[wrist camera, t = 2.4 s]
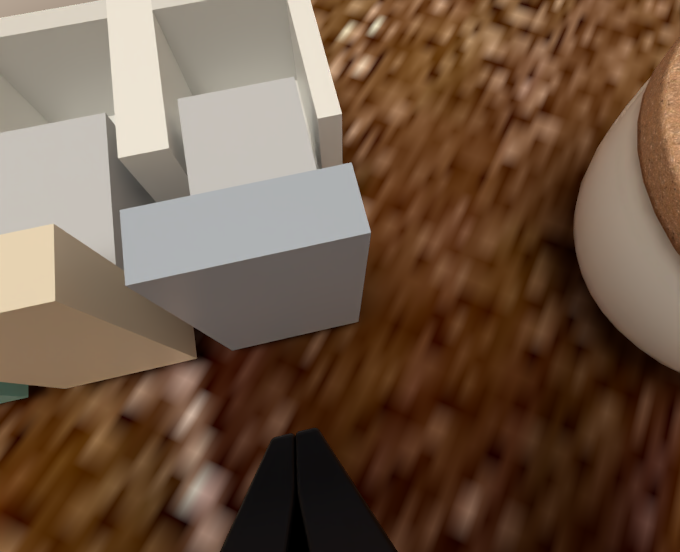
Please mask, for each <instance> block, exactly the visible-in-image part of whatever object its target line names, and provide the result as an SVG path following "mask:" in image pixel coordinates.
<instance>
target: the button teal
mask: <svg viewBox="0 0 680 552" xmlns="http://www.w3.org/2000/svg"><path fill="white" fill-rule="evenodd" d="M27 397H28V385H25V384H16V383H6V382H0V404H1V403H5V402H10V401H14V400H18V399H23V398H27Z"/></svg>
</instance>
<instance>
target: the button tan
mask: <svg viewBox="0 0 680 552" xmlns="http://www.w3.org/2000/svg"><path fill="white" fill-rule="evenodd" d="M152 203H157V202H156V201H155V200H154V199H153V198H152V197H151V196H150V194H149V193H148V192H147V191H146V190H145V189H144V188H143V186H142V185H141V184H140V183H139V182H138V181H137V179H136V178H135V177H134V176H133V175H132V174H131V173H130V171H129V170H128V169H127V168H126V167H125V166H124V165H123V163H122V162H121V161H120V160H119V159H118V152H117V139H116V126H115V124H114V123H113V122H112V120H111V119H110V118H109V117H108V115H107V114H106V113H101V114H96V115H90V116H85V117H80V118H75V119H69V120H64V121H59V122H54V123H49V124H43V125H38V126H33V127H28V128H22V129H17V130H12V131H7V132H2V133H0V382H6V383H16V384H25V385H35V386H44V387H53V388H63V389H66V388H71V387H75V386H79V385H84V384H88V383H93V382H97V381H101V380H106V379H110V378H114V377H119V376H123V375H128V374H132V373H136V372H141V371H145V370H149V369H154V368H158V367H163V366H167V365H171V364H176V363H180V362H184V361H189V360H193V359H197V353H196V344H195V336H194V328H193V326H191V325H189V324H188V323H186V322H184V321H183V320H181V319H179V318H178V317H176V316H174V315H173V314H171V313H170V312H168V311H166V310H165V309H163V308H161V307H160V306H158V305H156V304H155V303H153V302H151V301H150V300H148V299H146V298H145V297H143V296H141V295H140V294H138V293H136V292H135V291H133V290H131V289H130V288H128V287H127V286H125V275H124V262H123V248H122V235H121V222H120V210H122V209H127V208H132V207H137V206H142V205H147V204H152Z"/></svg>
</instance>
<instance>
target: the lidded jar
mask: <svg viewBox="0 0 680 552" xmlns="http://www.w3.org/2000/svg"><path fill="white" fill-rule="evenodd" d="M573 234H574V242H575V250H576V256H577V260H578V263H579V267H580V270H581V274H582V277H583V279H584V281H585V283H586V285H587V288H588V290H589V292H590V294H591V296H592V297H593V299H594V300H595V302H596V303H597V305H598V306H599V308H600V310H601V311H602V313H603V314H604V315H605V316H606V317H607V318H608V319H609V321H610V322H611V323H612V324H613V325H614V326H615V328H616V329H617V330H618V331H620V332H621V333H622V334H623V335H624V336H625V337H626V338H627V339H628V340H630V341H631V342H632V343H633V344H634V345H635V346H637V347H638V348H639V349H641V350H642V351H643V352H645V353H646V354H648V355H649V356H651V357H652V358H654V359H655V360H657V361H658V362H659V363H661V364H663V365H665V366H667V367H669V368H670V369H672V370H674V371H676V372H678V373H680V38H679V39H678V40H677V41H676V42H675V44H674V45H673V46H672V47H671V49H670V50H669V51H668V53H667V54H666V55H665V57H664V58H663V59H662V61H661V62H660V64H659V65H658V66H657V68H656V69H655V70H654V72H653V74H652V76H651V78H650V79H649V80H648V81H647V82H646V83H645V84H644V85H643V86H642V88H641V89H640V90H639V91H638V93H637V94H636V95H635V96H634V97H633V99H632V100H631V101H630V102H629V104H628V105H627V106H626V107H625V109H624V110H623V111H622V113H621V114H620V115H619V117H618V118H617V119H616V121H615V122H614V124H613V125H612V126H611V128H610V129H609V131H608V132H607V134H606V135H605V137H604V139H603V140H602V142H601V143H600V145H599V146H598V148H597V150H596V152H595V154H594V156H593V158H592V161H591V163H590V165H589V167H588V169H587V171H586V173H585V175H584V178H583V180H582V182H581V186H580V190H579V194H578V198H577V203H576V208H575V213H574V229H573Z"/></svg>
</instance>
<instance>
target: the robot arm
mask: <svg viewBox="0 0 680 552" xmlns="http://www.w3.org/2000/svg"><path fill="white" fill-rule="evenodd" d="M220 552H397V550H396V548H395V547H394V545H393V544H392V542H391V541H390V539H389V538H388V536H387V534H386V533H385V531H384V530H383V528H382V527H381V525H380V524H379V522H378V520H377V519H376V517H375V516H374V514H373V513H372V511H371V510H370V508H369V507H368V505H367V503H366V502H365V500H364V499H363V497H362V496H361V494H360V493H359V491H358V489H357V488H356V486H355V485H354V483H353V482H352V480H351V479H350V477H349V475H348V474H347V472H346V471H345V469H344V468H343V466H342V465H341V463H340V461H339V460H338V458H337V457H336V455H335V454H334V452H333V451H332V449H331V447H330V446H329V444H328V443H327V441H326V440H325V438H324V437H323V435H322V433H321V432H320V430H319V429H317V428H312V429H307V430H303V431H299V432H297V433H296V436H295V435H294V434H292V433H291V434H286V435H282V436H278V437H275V438H273V439H272V440H271V442H270V444H269V446H268V448H267V450H266V452H265V455H264V457H263V459H262V461H261V463H260V465H259V468H258V470H257V472H256V474H255V476H254V479H253V481H252V483H251V485H250V487H249V489H248V492H247V494H246V496H245V498H244V500H243V503H242V505H241V507H240V509H239V511H238V513H237V516H236V518H235V520H234V522H233V524H232V527H231V529H230V531H229V533H228V535H227V537H226V540H225V542H224V544H223V546H222V548H221V550H220Z"/></svg>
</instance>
